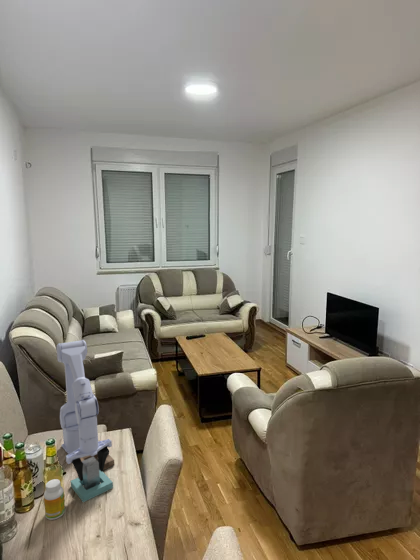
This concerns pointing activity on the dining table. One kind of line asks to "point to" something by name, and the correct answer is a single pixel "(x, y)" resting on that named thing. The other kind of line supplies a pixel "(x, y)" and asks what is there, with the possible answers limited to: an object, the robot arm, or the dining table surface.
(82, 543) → the dining table surface
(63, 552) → the dining table surface
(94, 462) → the peg
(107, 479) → the teal square frame
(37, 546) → the dining table surface
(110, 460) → the socket block
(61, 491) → the supplement bottle
